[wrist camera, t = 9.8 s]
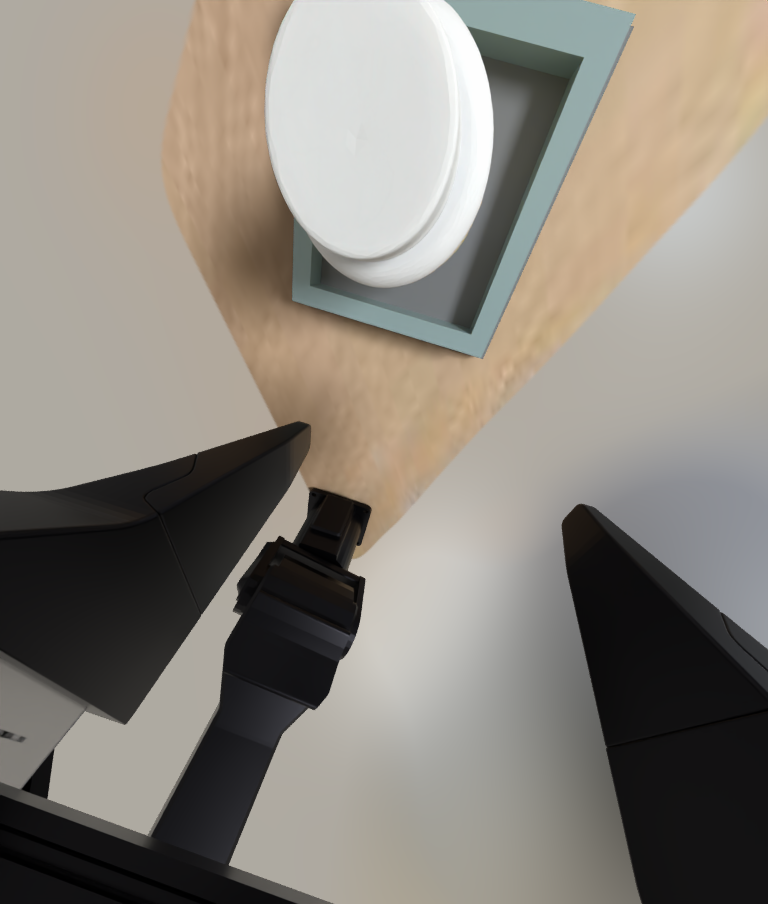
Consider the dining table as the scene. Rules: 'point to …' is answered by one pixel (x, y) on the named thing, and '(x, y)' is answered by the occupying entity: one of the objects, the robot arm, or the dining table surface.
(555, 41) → the tray
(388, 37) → the supplement bottle
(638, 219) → the dining table surface
